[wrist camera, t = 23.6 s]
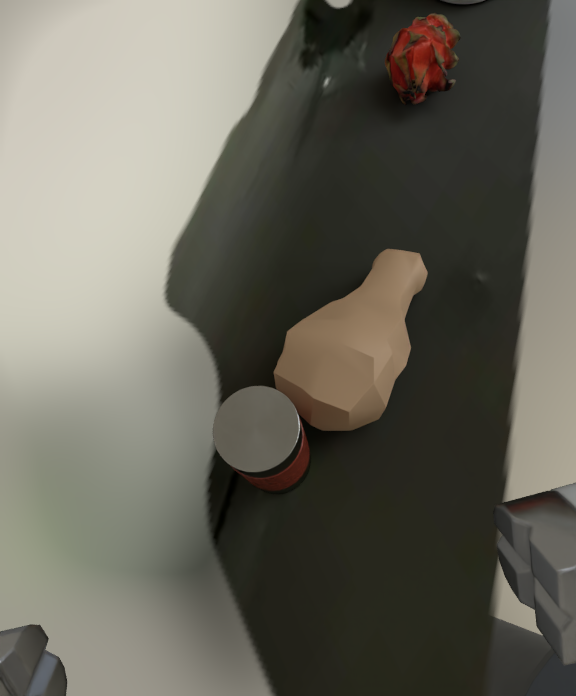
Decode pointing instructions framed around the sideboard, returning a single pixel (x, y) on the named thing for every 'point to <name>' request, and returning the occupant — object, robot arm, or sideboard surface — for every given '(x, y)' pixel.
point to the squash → (352, 348)
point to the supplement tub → (463, 1)
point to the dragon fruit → (422, 58)
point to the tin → (263, 439)
